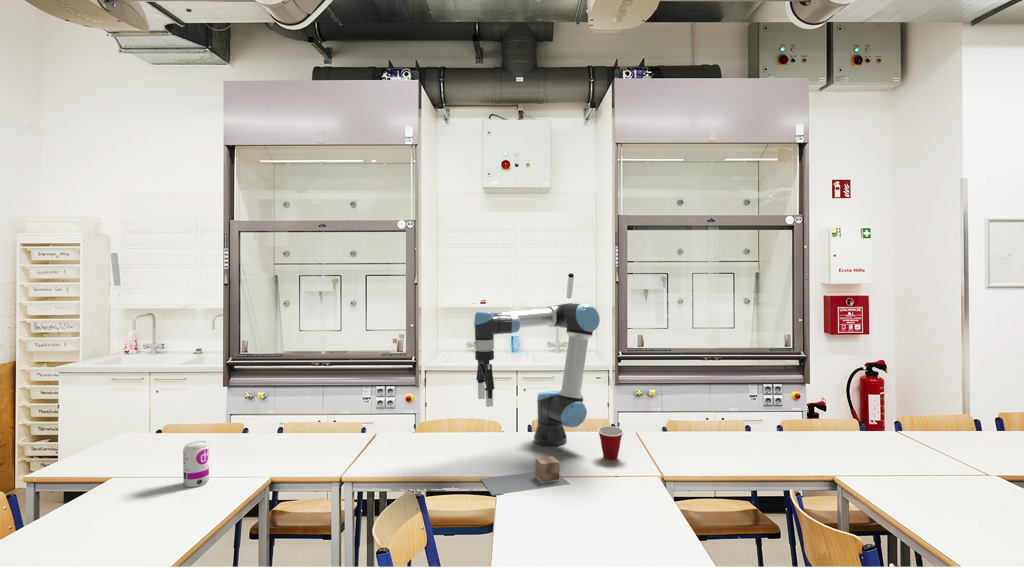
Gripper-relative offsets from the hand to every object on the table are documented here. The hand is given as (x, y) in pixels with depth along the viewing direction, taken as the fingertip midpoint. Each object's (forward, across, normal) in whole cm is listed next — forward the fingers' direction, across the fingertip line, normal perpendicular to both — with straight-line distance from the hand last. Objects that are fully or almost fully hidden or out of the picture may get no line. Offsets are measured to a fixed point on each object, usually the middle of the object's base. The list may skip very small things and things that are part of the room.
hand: (485, 402), depth 220 cm
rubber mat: (+26, +21, +10) cm, 35 cm away
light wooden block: (+26, +20, +19) cm, 38 cm away
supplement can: (+25, -15, -108) cm, 112 cm away
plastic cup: (+27, +6, +52) cm, 59 cm away
